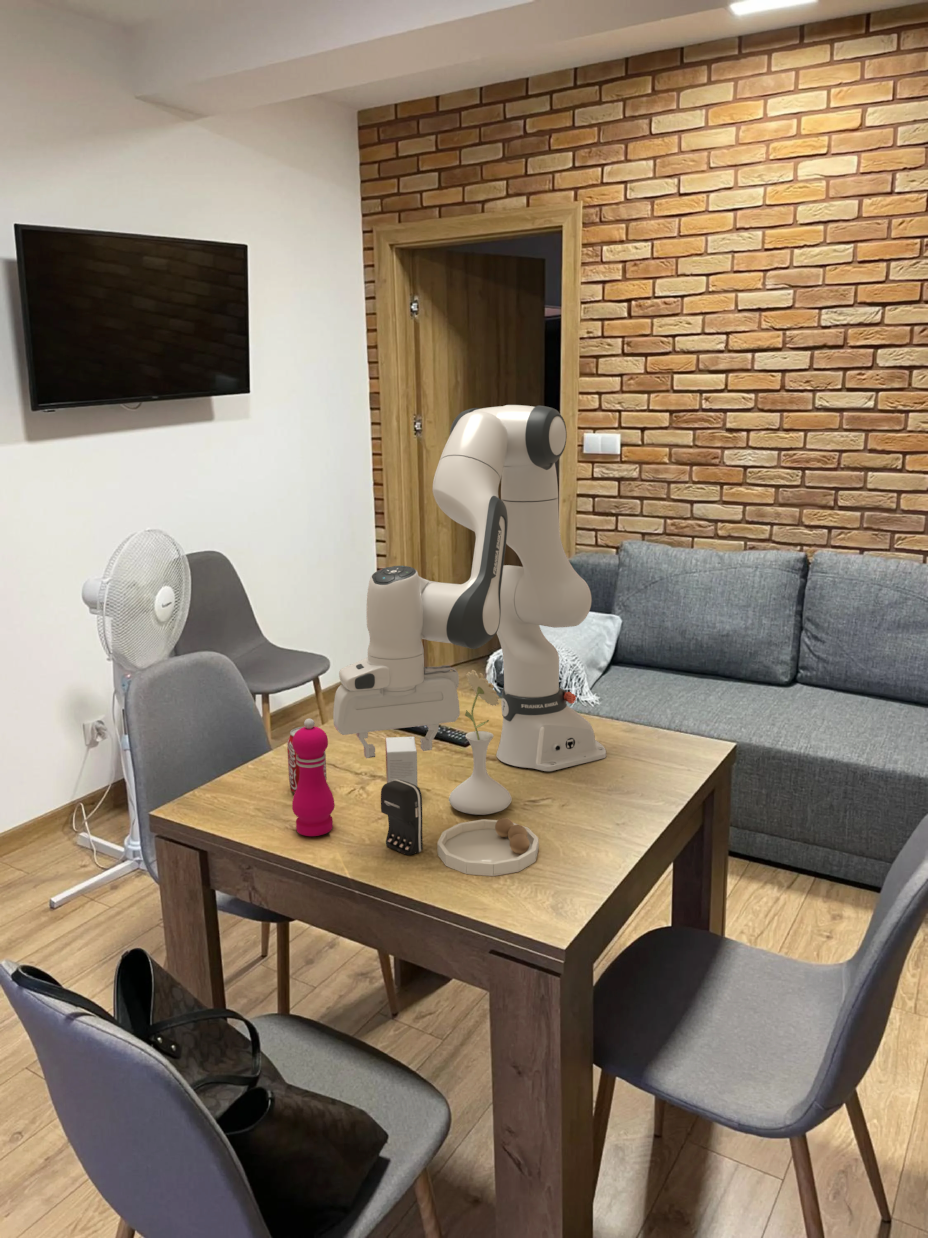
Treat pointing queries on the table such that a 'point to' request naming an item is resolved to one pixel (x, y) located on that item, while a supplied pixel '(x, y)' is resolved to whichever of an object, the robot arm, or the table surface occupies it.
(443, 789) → the table surface
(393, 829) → the battery charger
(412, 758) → the small box
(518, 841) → the bead
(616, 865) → the table surface
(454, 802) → the flower in vase
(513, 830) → the bead
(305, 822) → the pepper mill
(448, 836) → the tray
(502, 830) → the bead
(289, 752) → the soda can
